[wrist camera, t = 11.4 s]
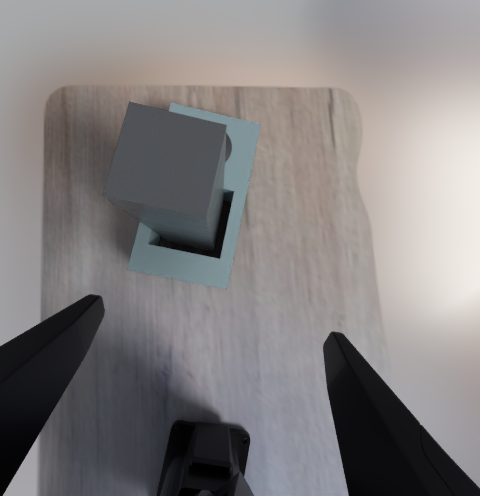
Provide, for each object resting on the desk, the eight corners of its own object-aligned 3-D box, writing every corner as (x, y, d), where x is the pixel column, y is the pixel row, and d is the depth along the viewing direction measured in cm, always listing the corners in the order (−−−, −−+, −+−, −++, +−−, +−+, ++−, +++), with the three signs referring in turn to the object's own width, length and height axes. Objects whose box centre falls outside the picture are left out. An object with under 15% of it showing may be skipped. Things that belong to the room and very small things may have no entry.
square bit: (213, 251, 22) (206, 217, 9) (169, 242, 22) (102, 195, 9) (222, 209, 22) (226, 124, 10) (179, 199, 22) (129, 101, 10)
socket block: (225, 287, 22) (226, 289, 18) (140, 270, 21) (126, 269, 18) (255, 143, 23) (260, 123, 20) (177, 125, 23) (170, 101, 20)
